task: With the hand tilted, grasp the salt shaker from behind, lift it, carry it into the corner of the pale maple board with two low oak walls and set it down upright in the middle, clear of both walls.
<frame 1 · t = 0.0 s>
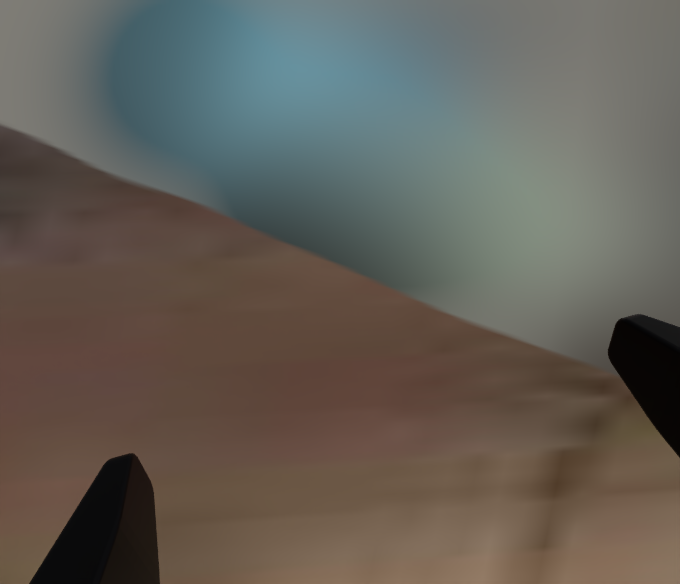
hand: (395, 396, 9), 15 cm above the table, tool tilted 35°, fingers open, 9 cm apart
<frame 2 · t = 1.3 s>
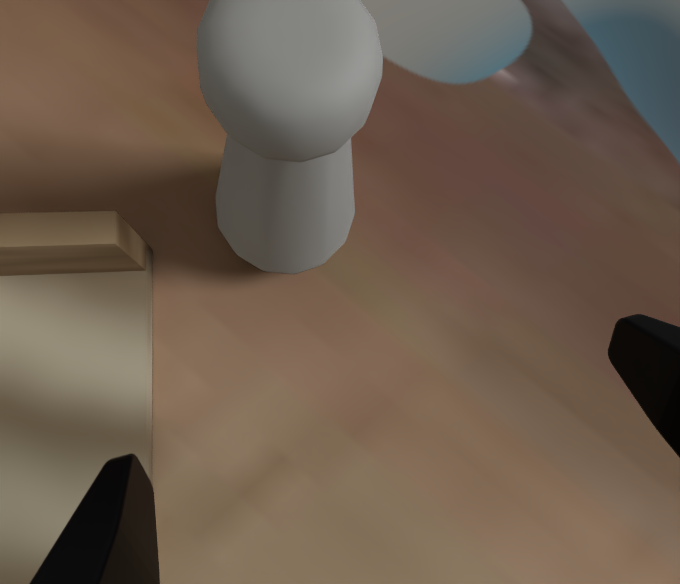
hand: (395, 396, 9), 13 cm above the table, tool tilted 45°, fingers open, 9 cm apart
salt shaker: (285, 226, 23), on the table
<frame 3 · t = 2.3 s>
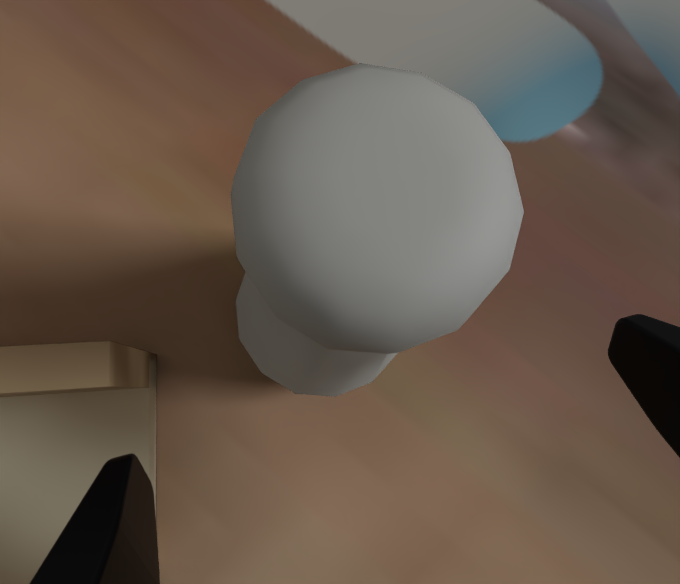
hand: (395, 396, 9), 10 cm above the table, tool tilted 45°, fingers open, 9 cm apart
salt shaker: (317, 320, 19), on the table
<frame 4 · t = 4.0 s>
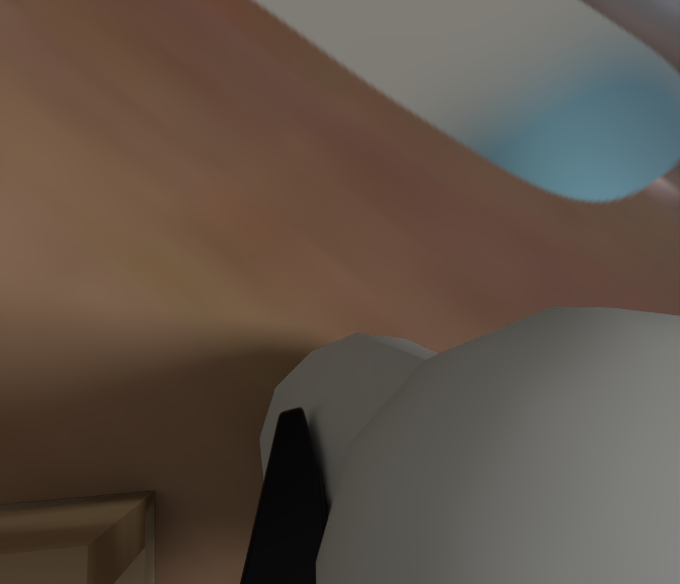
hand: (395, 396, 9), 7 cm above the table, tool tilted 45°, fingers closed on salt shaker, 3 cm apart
salt shaker: (358, 436, 15), on the table, touching gripper
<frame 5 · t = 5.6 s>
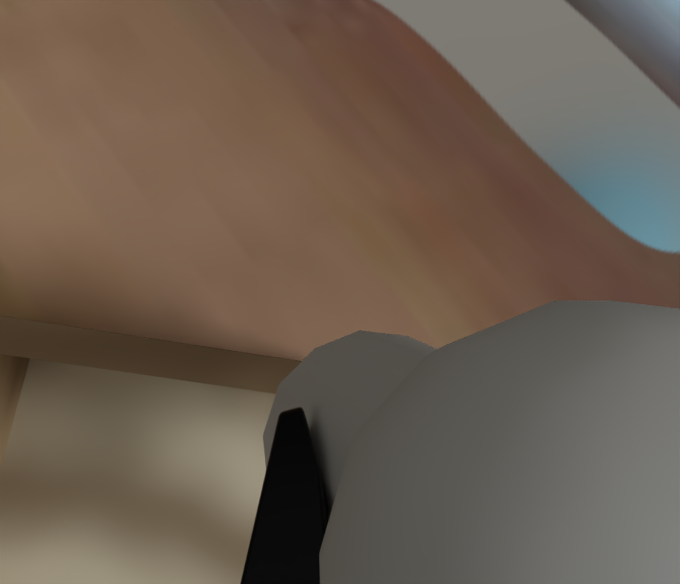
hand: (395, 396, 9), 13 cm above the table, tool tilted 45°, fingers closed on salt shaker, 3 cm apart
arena: (153, 521, 20), on the table
salt shaker: (361, 434, 15), point 6 cm above the table, touching gripper
when the fingers open (9 cm above the table, at t = 7.2 s): salt shaker drops 1 cm, resting on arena.
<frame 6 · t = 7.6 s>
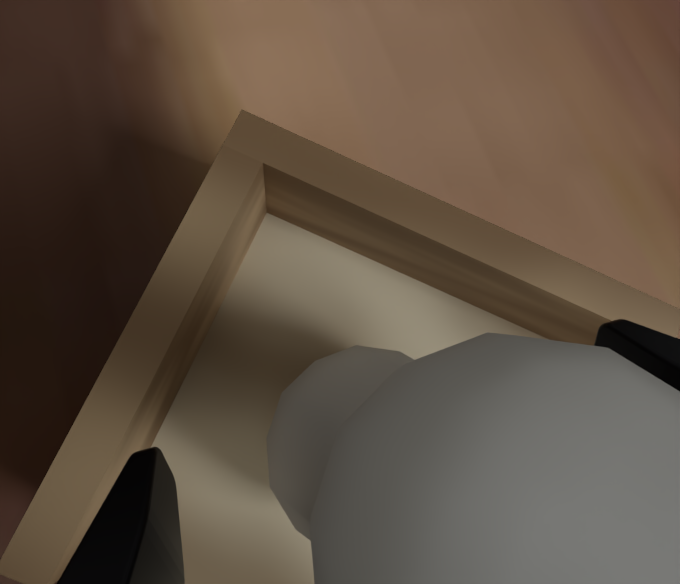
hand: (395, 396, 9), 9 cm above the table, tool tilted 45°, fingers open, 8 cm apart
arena: (348, 430, 17), on the table
salt shaker: (356, 440, 17), point 1 cm above the table, touching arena
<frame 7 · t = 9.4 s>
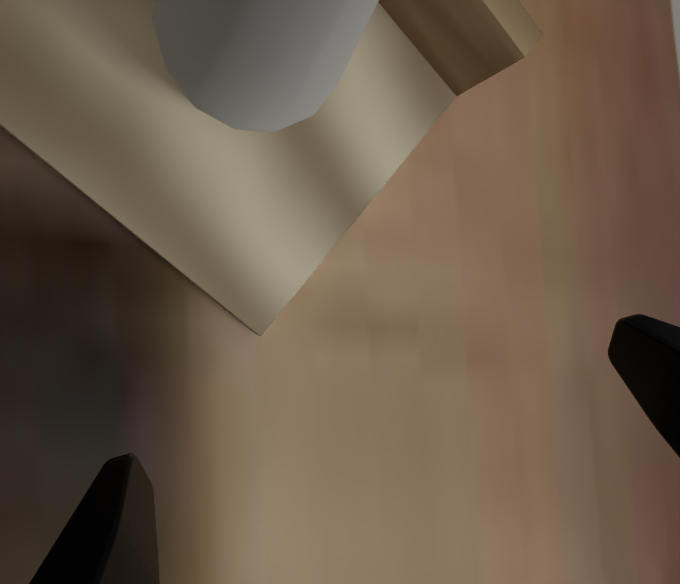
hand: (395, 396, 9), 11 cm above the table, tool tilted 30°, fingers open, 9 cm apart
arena: (233, 67, 18), on the table
salt shaker: (239, 67, 17), point 1 cm above the table, touching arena
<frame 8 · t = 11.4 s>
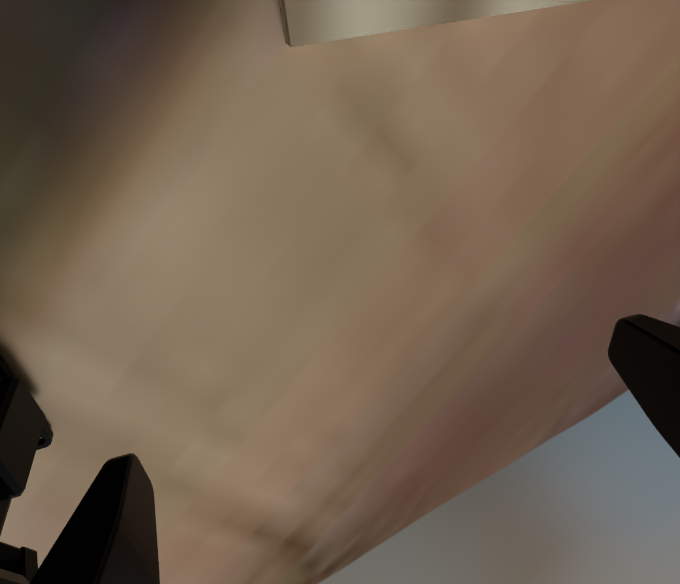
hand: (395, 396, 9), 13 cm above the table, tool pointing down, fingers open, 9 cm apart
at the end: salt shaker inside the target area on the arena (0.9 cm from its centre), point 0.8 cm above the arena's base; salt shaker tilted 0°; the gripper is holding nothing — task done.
